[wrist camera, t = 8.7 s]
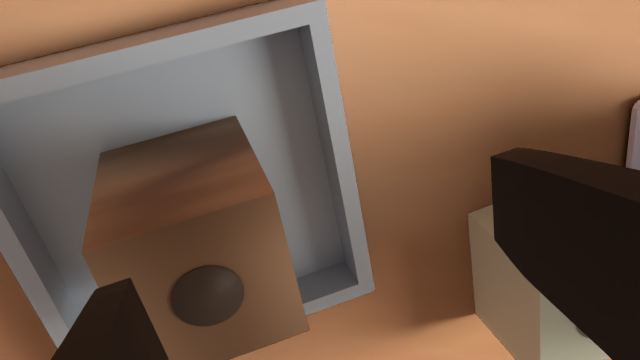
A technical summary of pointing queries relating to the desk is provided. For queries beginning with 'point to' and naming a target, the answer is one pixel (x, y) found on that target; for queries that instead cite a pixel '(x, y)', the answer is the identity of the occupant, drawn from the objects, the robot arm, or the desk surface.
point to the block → (196, 241)
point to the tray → (172, 116)
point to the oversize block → (519, 303)
